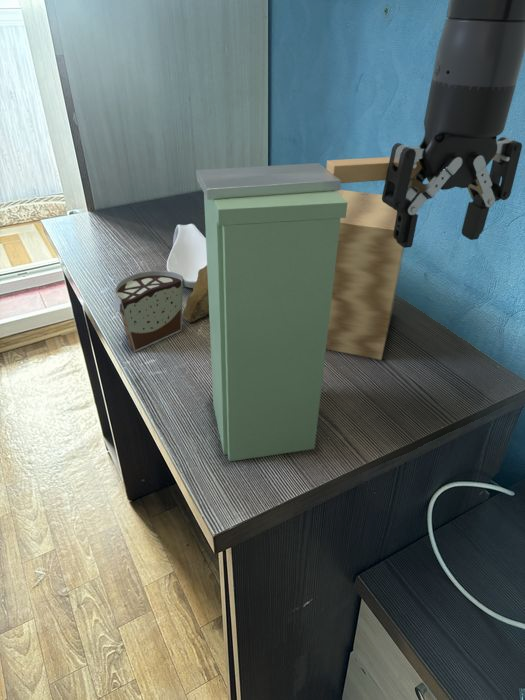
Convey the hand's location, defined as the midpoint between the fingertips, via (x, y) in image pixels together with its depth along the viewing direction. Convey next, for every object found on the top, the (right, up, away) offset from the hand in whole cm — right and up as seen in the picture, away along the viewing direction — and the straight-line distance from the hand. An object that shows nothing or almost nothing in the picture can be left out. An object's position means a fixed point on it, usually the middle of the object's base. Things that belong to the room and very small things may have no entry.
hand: (437, 241), depth 57 cm
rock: (-30, -5, +36) cm, 47 cm away
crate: (-6, -8, +32) cm, 33 cm away
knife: (-14, +5, -5) cm, 16 cm away
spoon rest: (-34, +4, +49) cm, 60 cm away
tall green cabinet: (-19, -22, +12) cm, 32 cm away
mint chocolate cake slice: (-38, -10, +29) cm, 49 cm away
